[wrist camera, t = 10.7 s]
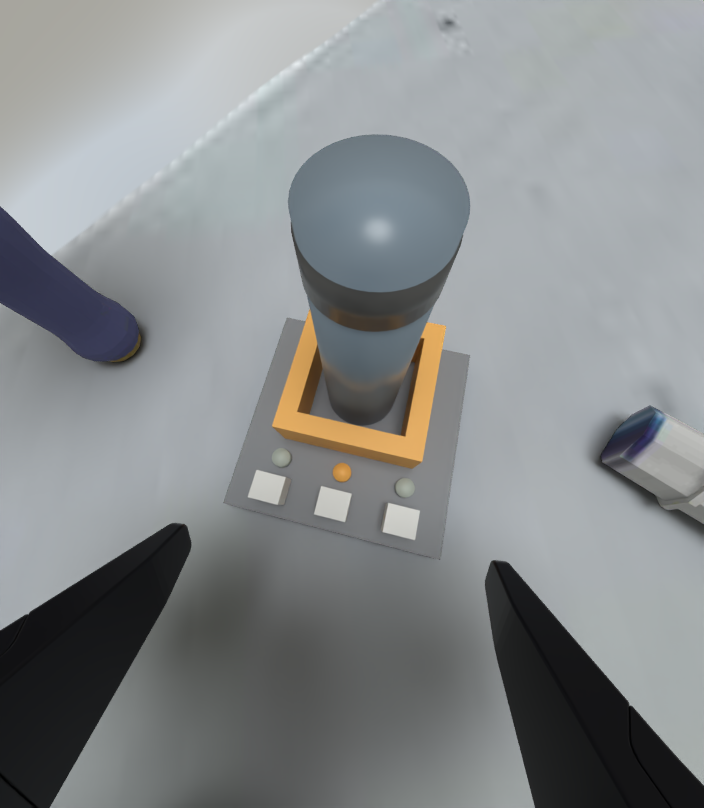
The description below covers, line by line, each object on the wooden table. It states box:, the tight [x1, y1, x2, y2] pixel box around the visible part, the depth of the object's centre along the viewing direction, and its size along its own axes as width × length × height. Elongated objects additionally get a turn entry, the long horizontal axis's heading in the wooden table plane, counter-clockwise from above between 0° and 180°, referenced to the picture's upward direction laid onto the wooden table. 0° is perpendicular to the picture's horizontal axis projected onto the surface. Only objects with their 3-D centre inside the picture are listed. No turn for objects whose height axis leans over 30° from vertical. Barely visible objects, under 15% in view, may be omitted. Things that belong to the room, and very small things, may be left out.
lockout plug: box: [288, 135, 470, 426], centre depth 13 cm, size 4×4×13 cm
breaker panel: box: [223, 310, 470, 560], centre depth 18 cm, size 12×12×4 cm
